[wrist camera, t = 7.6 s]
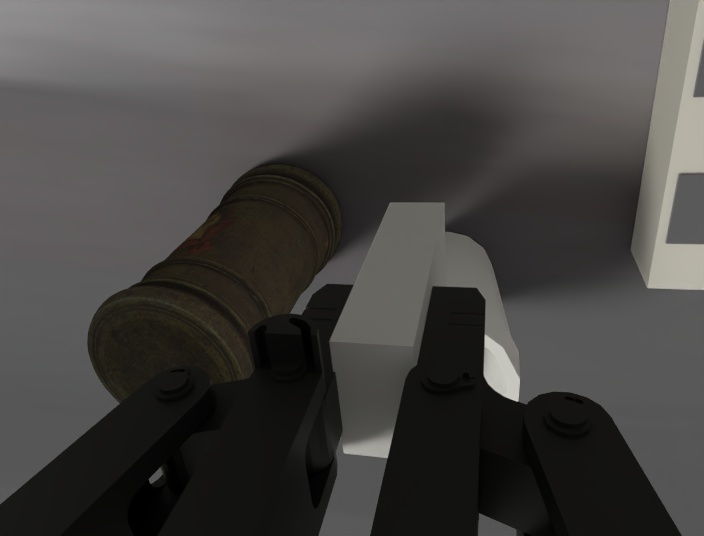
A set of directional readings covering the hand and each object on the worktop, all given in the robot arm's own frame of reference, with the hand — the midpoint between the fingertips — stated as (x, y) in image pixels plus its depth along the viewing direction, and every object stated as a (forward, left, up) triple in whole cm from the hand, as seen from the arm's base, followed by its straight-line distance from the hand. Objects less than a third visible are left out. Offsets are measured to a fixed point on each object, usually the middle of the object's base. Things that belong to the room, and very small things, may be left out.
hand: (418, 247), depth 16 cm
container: (+9, -13, -23) cm, 28 cm away
